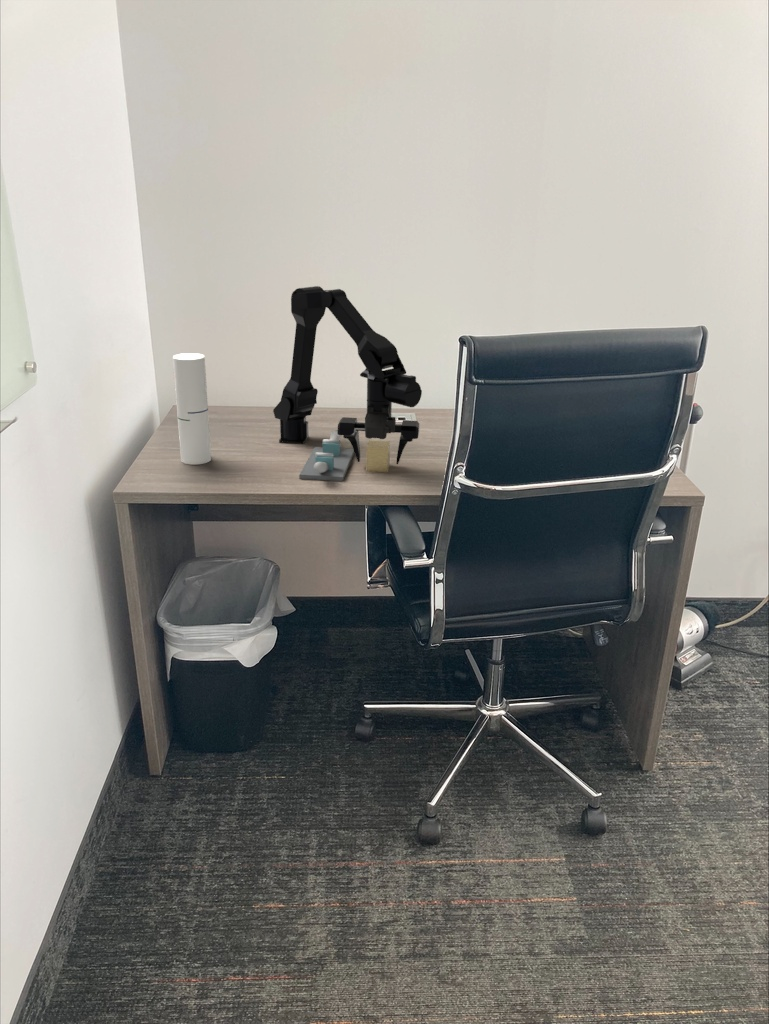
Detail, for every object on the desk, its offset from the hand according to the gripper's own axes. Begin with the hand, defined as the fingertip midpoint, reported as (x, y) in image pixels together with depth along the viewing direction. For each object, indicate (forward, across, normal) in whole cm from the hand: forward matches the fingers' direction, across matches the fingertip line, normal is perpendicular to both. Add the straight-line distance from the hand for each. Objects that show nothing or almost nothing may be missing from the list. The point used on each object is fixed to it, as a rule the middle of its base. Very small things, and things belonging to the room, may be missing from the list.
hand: (378, 462), depth 192 cm
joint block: (+1, 0, 0) cm, 1 cm away
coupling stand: (+1, -12, 0) cm, 12 cm away
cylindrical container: (+2, -44, -1) cm, 44 cm away
